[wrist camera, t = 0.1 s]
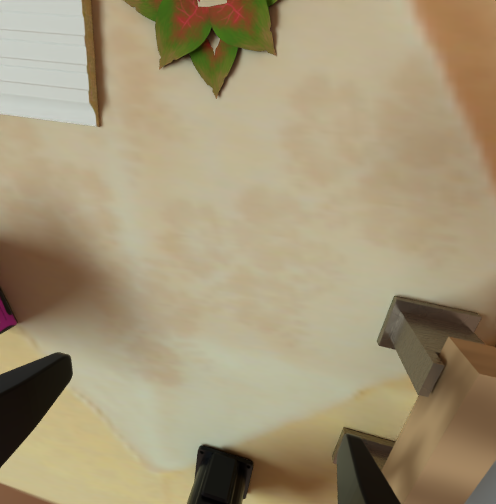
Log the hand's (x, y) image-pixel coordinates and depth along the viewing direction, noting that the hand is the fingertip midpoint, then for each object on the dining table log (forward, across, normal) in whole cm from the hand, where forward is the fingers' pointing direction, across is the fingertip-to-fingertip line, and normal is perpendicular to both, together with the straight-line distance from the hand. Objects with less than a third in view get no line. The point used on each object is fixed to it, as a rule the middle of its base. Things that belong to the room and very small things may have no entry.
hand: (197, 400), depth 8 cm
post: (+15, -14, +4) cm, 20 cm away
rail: (+10, -14, +11) cm, 20 cm away
